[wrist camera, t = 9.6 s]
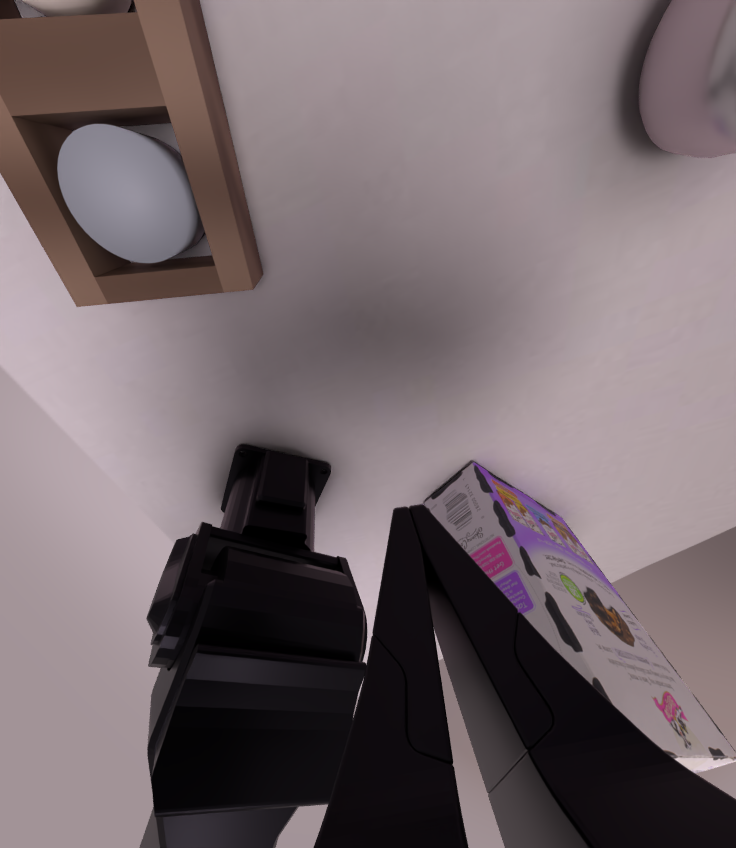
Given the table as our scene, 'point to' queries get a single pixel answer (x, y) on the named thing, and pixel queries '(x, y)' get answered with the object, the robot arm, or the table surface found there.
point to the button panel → (119, 106)
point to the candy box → (577, 611)
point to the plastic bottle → (692, 79)
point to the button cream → (79, 7)
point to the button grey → (129, 193)
